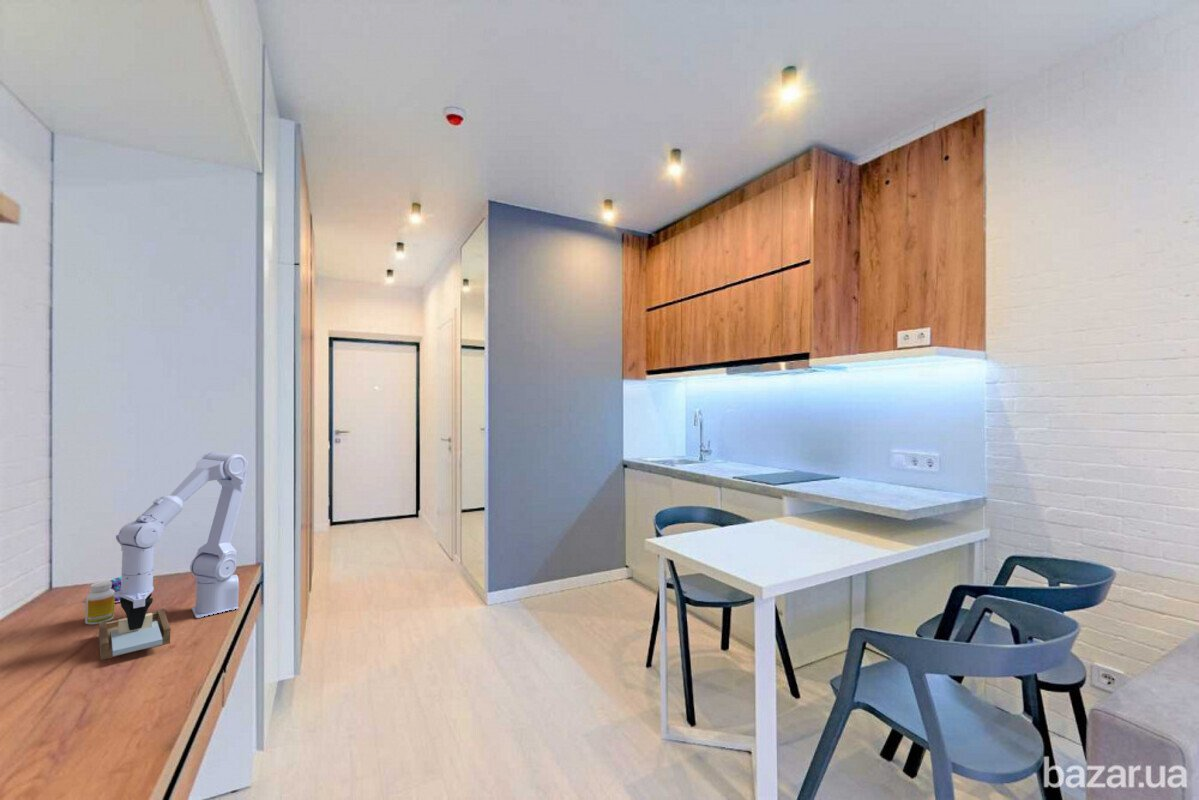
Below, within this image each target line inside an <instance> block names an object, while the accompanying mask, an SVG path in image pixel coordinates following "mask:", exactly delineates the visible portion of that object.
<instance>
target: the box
mask: <svg viewBox="0 0 1199 800" xmlns="http://www.w3.org/2000/svg"><path fill="white" fill-rule="evenodd" d="M151 613H152V615H153V616H152V622H154V621H157V622H158V626H159V629H160V632H161V636H162V639H163V641H162V644H161V645H157V646H153V647H149V648H145V649H141V650H137V651H132V652H128V653H124V654H120V655H116V656H113V654H112V646H111V637H110V632H111V631H112V630H117V629H118V620H119V619H117V620H116V619H115V620H112V621H111V620H110V621H107V622H106V621H103V622H99V624H98V645H99V656H100V657H99V658H100V661H103V660H106V659H107V660H108V659H111V658H115V657H119V656H123V655H124V656H125V655H127V654H131V653H135V652H139V651H143V650H147V649H151V648H155V647H160V646H163V645H167V644H171V629H172V628H171V626H170V623H169V621H168V617H167V615H166V611H165V610H164V608H162V609H157V610H156V611H154V612H151Z"/></svg>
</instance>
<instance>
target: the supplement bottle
mask: <svg viewBox="0 0 1199 800" xmlns="http://www.w3.org/2000/svg"><path fill="white" fill-rule="evenodd" d="M111 587H112V582H111V580H103V581H97V582H94V583H92V584H90V588H89V591H90V592H89V593H87V595H86V598H85V610H84V611H85V613H84V623H85V624H86V625H89V626H90V625H99V622H103V621H106V622H111V620H113V619H114V617H115V603H116V602H115V597H114V592H115V591H114V590H113V589H110V588H111Z"/></svg>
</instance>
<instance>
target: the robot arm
mask: <svg viewBox="0 0 1199 800" xmlns="http://www.w3.org/2000/svg"><path fill="white" fill-rule="evenodd" d="M249 465H250V462H249V461H248V460H247V459H246V458H245V456H243V455H242V454H240V453H239V454H237V453H235V454H233V453H225V452H217V451H209V452H207V453H206V454H204V455H203V456H202V457H201V458H200V459H199V460H197V461H196V465H195V468H194V469H193V470H192V471H191V472H190V473H189V475H187V477H186V478H185V479H184V480H183V481H182V482H181V483H179V485H178V486H177V487H176V488H175V489H174V490H173V491H172V493H171V494H169V495H166V496H165V495H164V496H160V497H159V498H156V499H155V500H154V501H152V505H150V507H149V508H147V509H146V510H145V511H144V512H143V513H142V514H141V515H138V517H137V518H135V520H134V521H131V522H127V523H126V524H124V525H123V526H122V527H121V528H120V530H119V532H118V534H117V535H115V539H116V541H117V543H118V544H119V545H120V546H121V552H122V555H121V574H120V575H121V576H120V577H121V591H118V592H114V597H122V598H120V602H119V603H120V607H121V608H122V610H123V611H124V612H125V613H124V614H125V616H126V618H127V620H128V626H129V629H130V630H135V629H139V628H141V627H142V625H143V622H144V618H145V615H146V614H147V612H148V610H149V607H150V606H151V604H152V603H153V602H154V599H153V597H151V596H152V595H153V594H152V592H154V590H155V588H154V587H155V586H154V585H153V584H154V567H155V565H154V563H155V545H156V544H157V543H159V542H160V540H161V538H162V536H163V532H164V531H165V528H166V527H167V526H168V525H169V524H170V523H171V522H172V521H173V519H175V518H177V516H178V515H179V514H180V513H181V512H182V511H183V509H184V508H183V507H184V505H183V504H184V502H186V501H187V500H188V499H190V497H192V496H193V495H194V494H195V493H196V492H198V491H199V490H200V489H201V488H202V487H203V486H204V485H206V484H207V483H209V482H210V481H211V482H212V481H217V482H218V483H219V484H220V485H221V490H220V494H219V498H218V502H217V504H216V505H217V506H216V508H215V512H214V515H213V519H212V524H211V528H210V530H209V531H210V532H209V535H208V538H207V540H206V543H204V544H203V545H202V546H200V547H199V548H198V549H197V553H196V555H195V557H194V558H193V559H192V561H191V563H190V565H189V570H190V572H191V574H192V575H194V579H195V580H196V587H195V588H196V590H195V591H196V593H195V594H196V595H195V606H192V607H191V611H192V613H193V616H194V617H195V619H200V618H201V619H202V618H205V617H209V616H208V615H210V616H214V615H218V614H217V613H219V614H222V612H223V613H226V612H225V611H228V612H230V611H229V610H232V611H236V610H238V609H239V593H240V591H239V590H240V582H239V576H238V574H235V571H236V569H237V566H238V562H237V555H238V552H237V550H236V548H235V547H234V546H233V545H232V541H233V537H234V533H235V529H236V526H237V521H238V517H239V514H240V510H241V506H242V502H243V499H244V495H245V491H246V488H247V487H246V486H247V484H248V479H247V478H248V477H247V476H248V475H247V473H248V469H249ZM235 609H236V610H235ZM213 614H214V615H213ZM204 616H205V617H204Z"/></svg>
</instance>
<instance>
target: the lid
mask: <svg viewBox="0 0 1199 800" xmlns="http://www.w3.org/2000/svg"><path fill="white" fill-rule="evenodd" d="M152 613H153V612H150V613H149V612H148V613H146V615H145V618H144V622H143V625H142V627H141V628H139V629H135V630H130V629H129V626H128V620H127V617H124V618H120V619H117V620H118V629H117V630H112V631H111V632H110V637H111V646H112V654H113V656H116V655H120V654H124V653H128V652H132V651H136V652H138V651H137V650H140V651H142V650H141V649H144V650H146V649H145V648H148V649H150V648H149V647H152V648H154V647H153V646H156V647H158V646H157V645H160V646H162V645H161V644H162V641H163V639H162V636H161V632H160V629H159V626H158V622H157V621H154V622H152V616H153V615H152ZM132 653H133V652H132ZM128 654H129V653H128ZM124 655H125V654H124ZM120 656H121V655H120ZM116 657H117V656H116Z"/></svg>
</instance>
